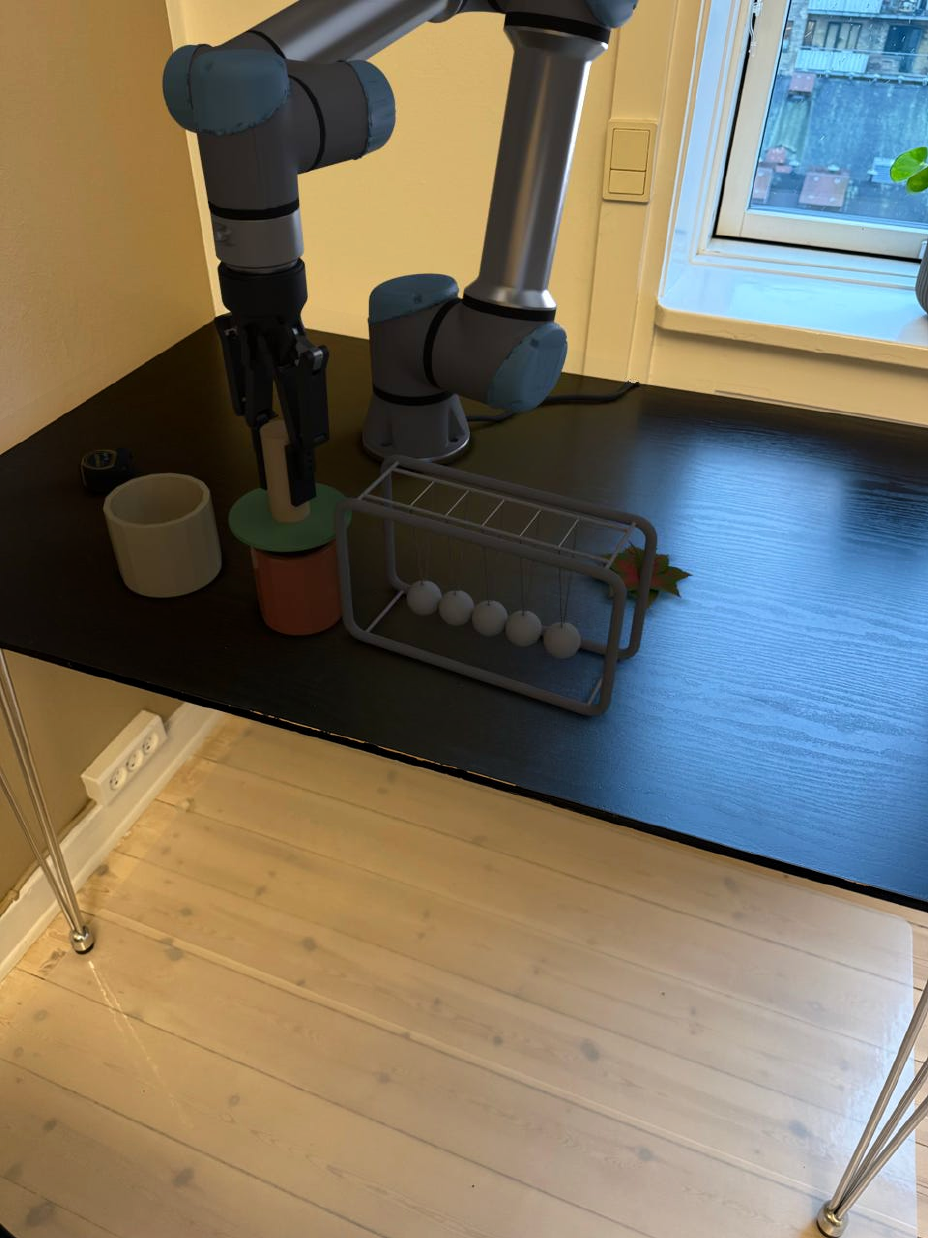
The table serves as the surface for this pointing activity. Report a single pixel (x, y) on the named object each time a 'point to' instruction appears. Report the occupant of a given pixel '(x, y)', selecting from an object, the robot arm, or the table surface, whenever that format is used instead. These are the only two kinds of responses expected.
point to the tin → (164, 534)
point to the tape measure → (106, 469)
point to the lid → (283, 505)
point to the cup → (298, 588)
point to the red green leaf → (630, 570)
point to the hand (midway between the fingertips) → (288, 491)
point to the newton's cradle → (491, 614)
